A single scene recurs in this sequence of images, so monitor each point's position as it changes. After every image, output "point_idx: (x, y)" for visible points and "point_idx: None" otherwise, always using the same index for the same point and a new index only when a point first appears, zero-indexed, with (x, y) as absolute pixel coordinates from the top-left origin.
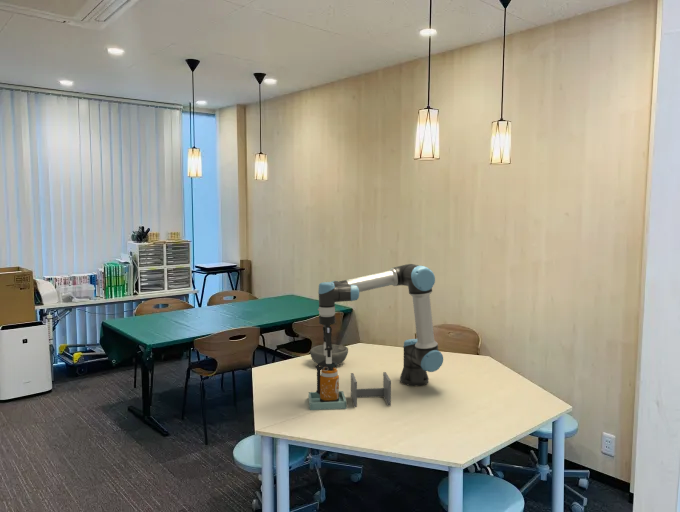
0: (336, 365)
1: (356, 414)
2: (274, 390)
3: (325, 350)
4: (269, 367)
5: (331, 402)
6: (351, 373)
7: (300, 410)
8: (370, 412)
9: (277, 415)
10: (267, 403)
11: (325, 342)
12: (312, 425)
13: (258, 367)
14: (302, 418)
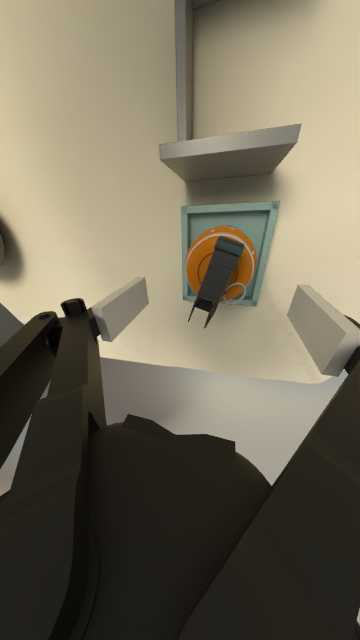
0: (243, 244)
1: (339, 168)
2: (144, 343)
3: (136, 307)
4: None
5: (267, 252)
6: (164, 155)
7: (251, 317)
8: (347, 98)
9: (264, 355)
10: (202, 360)
11: (108, 332)
12: (354, 305)
13: None
14: None
